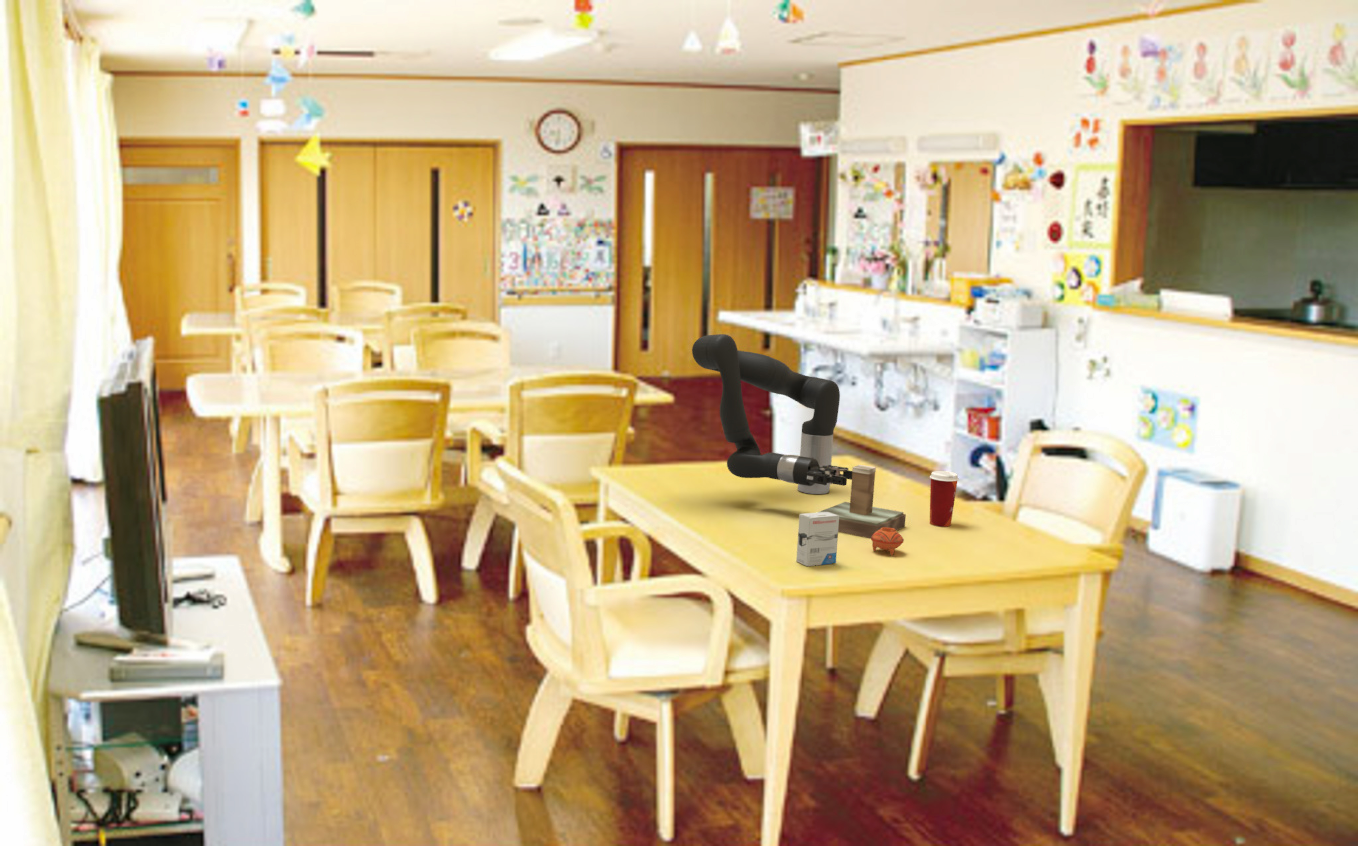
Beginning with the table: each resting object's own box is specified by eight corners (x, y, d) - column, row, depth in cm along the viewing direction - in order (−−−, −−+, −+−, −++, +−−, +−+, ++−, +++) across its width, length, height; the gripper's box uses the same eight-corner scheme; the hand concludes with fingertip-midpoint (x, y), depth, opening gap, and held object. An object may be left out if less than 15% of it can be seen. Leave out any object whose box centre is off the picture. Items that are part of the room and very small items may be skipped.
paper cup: (960, 527, 373) (964, 475, 370) (935, 528, 370) (940, 476, 367) (944, 520, 380) (948, 469, 377) (920, 521, 377) (924, 470, 375)
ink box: (825, 558, 333) (828, 510, 331) (836, 563, 329) (840, 515, 327) (795, 561, 329) (798, 512, 327) (806, 566, 325) (810, 517, 323)
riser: (843, 515, 379) (844, 501, 378) (904, 526, 369) (905, 512, 369) (813, 527, 364) (814, 512, 363) (877, 539, 354) (878, 524, 354)
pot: (870, 554, 338) (871, 526, 339) (870, 554, 346) (871, 526, 346) (903, 556, 337) (904, 528, 338) (902, 555, 345) (903, 528, 345)
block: (856, 509, 369) (859, 464, 367) (872, 512, 367) (875, 467, 365) (849, 512, 365) (852, 467, 363) (865, 515, 363) (868, 469, 361)
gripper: (786, 460, 368) (842, 469, 359) (810, 452, 380) (865, 461, 372) (784, 487, 369) (840, 497, 361) (808, 479, 381) (863, 488, 373)
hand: (853, 479), depth 366 cm, fingers open, 8 cm apart
